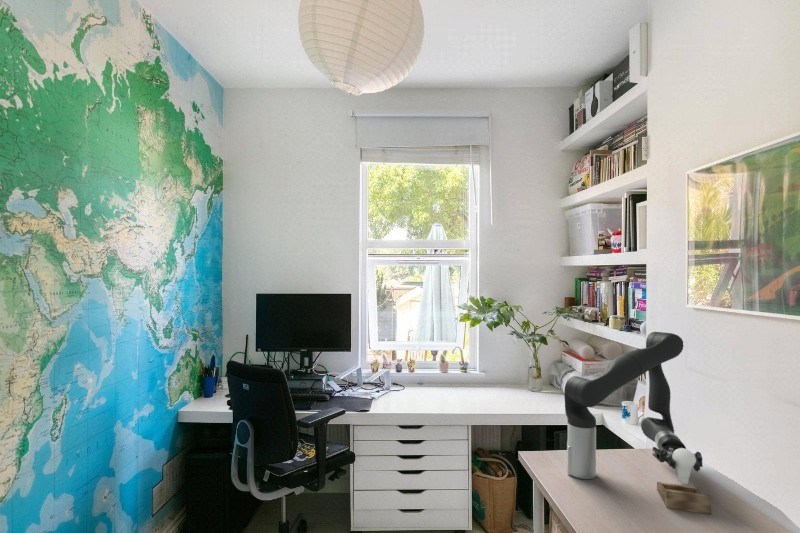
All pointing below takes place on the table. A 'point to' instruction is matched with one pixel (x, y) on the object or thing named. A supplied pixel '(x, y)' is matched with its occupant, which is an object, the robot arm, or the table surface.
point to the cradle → (684, 498)
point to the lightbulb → (684, 464)
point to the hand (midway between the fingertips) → (685, 466)
